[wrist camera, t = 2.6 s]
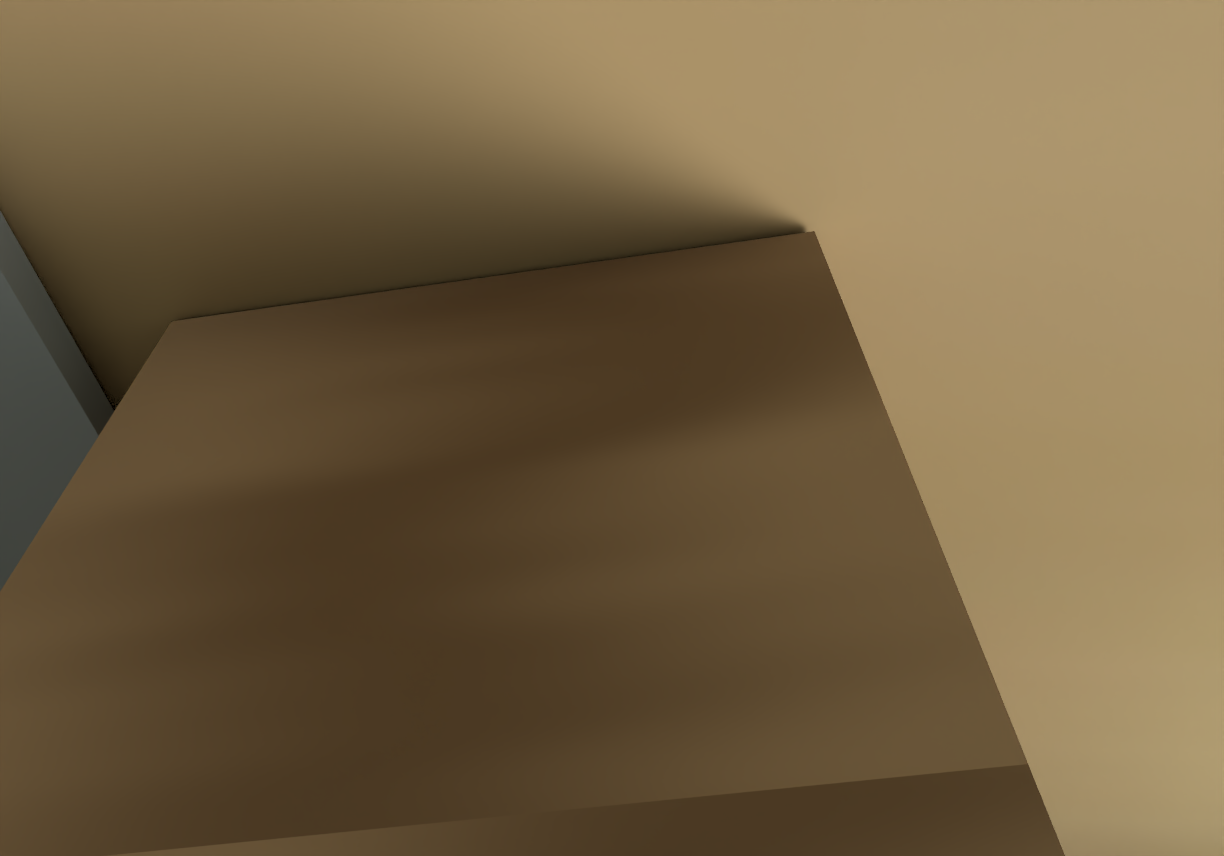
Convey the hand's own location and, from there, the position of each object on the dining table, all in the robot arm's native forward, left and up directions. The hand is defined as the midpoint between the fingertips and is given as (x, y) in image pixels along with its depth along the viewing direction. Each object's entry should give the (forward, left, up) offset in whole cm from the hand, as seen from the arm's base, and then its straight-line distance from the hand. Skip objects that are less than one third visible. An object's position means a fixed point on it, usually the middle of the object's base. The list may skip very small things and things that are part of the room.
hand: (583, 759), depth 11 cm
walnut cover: (0, -1, -1) cm, 2 cm away
